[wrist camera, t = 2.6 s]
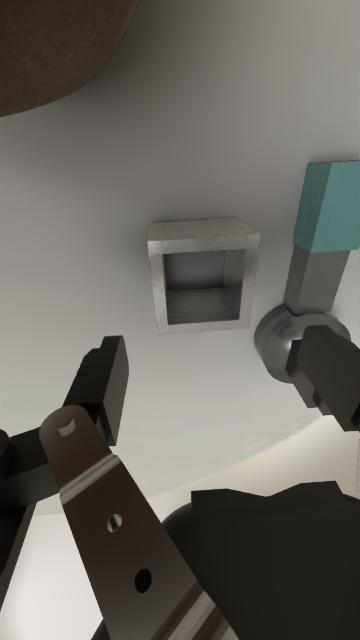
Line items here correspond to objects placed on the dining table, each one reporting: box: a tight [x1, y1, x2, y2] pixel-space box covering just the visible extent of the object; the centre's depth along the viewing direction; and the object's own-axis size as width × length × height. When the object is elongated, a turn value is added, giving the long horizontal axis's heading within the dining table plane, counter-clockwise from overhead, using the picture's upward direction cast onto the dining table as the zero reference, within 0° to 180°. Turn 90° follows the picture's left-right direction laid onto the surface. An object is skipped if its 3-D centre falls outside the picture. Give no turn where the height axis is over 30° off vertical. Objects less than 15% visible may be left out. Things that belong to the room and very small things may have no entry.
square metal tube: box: [147, 217, 261, 335], centre depth 17 cm, size 6×6×5 cm
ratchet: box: [254, 160, 360, 416], centre depth 17 cm, size 17×7×8 cm, turn 3°
